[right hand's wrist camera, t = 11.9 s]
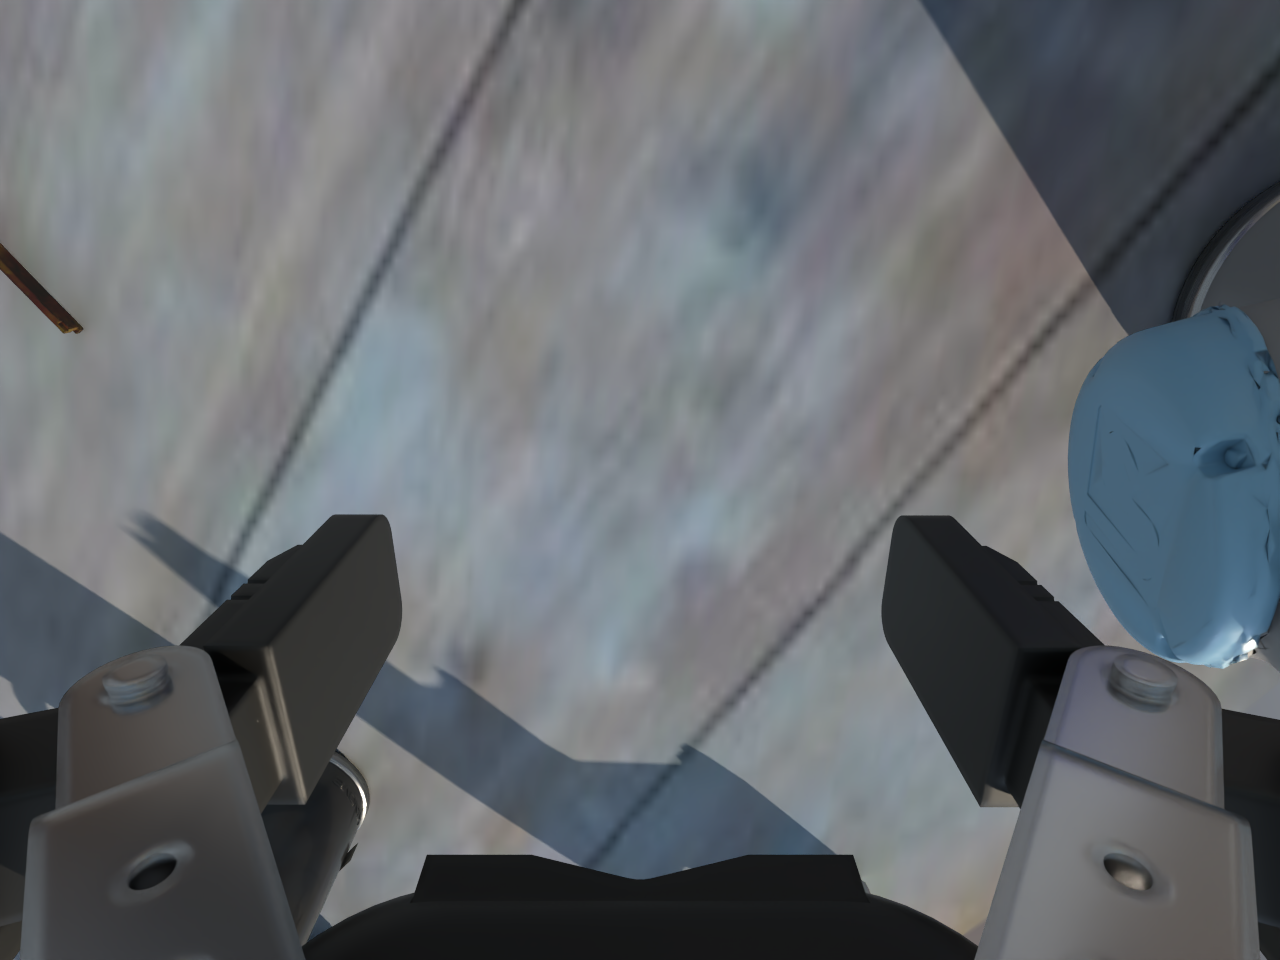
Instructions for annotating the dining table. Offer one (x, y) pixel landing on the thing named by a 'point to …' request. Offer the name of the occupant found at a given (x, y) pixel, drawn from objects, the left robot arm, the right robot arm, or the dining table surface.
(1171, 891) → the right robot arm
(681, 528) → the dining table surface
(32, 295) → the dark brown thin rod
